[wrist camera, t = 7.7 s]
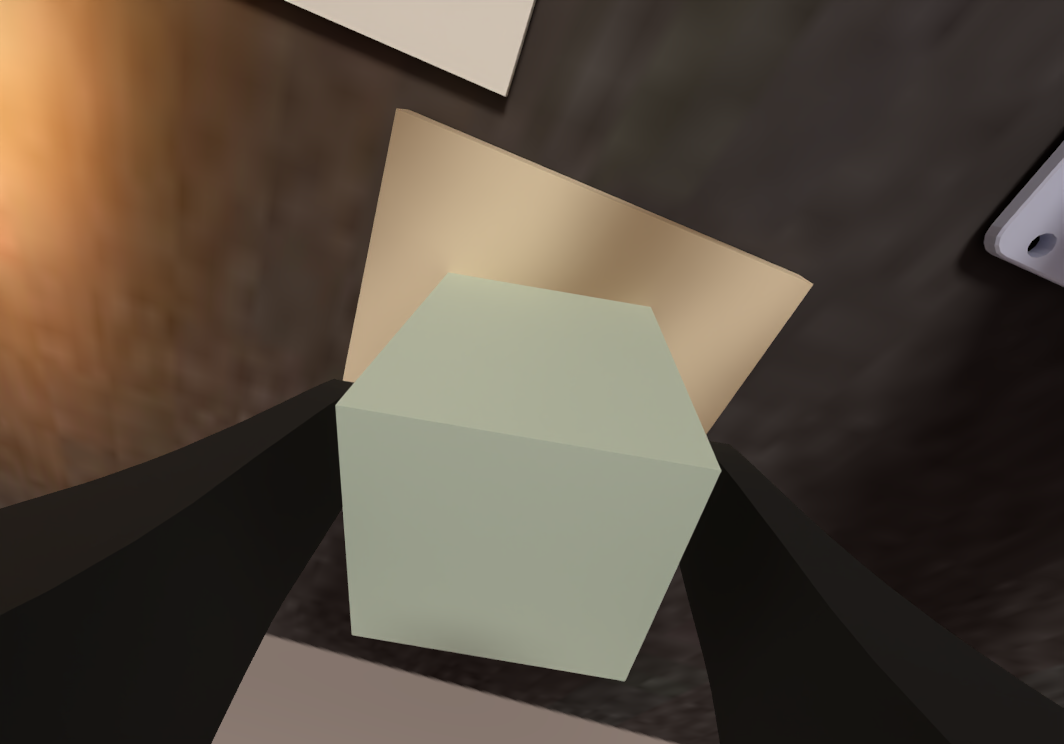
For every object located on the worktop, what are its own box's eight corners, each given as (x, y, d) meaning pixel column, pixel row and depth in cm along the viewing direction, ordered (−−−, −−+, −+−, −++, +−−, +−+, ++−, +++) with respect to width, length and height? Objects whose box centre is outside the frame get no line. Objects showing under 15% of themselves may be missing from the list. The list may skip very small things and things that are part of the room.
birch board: (798, 274, 11) (813, 284, 11) (618, 534, 16) (620, 553, 15) (408, 109, 10) (396, 108, 9) (339, 439, 15) (327, 455, 14)
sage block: (651, 307, 11) (721, 470, 6) (604, 464, 13) (625, 681, 8) (448, 272, 11) (335, 404, 6) (438, 436, 13) (352, 634, 8)
